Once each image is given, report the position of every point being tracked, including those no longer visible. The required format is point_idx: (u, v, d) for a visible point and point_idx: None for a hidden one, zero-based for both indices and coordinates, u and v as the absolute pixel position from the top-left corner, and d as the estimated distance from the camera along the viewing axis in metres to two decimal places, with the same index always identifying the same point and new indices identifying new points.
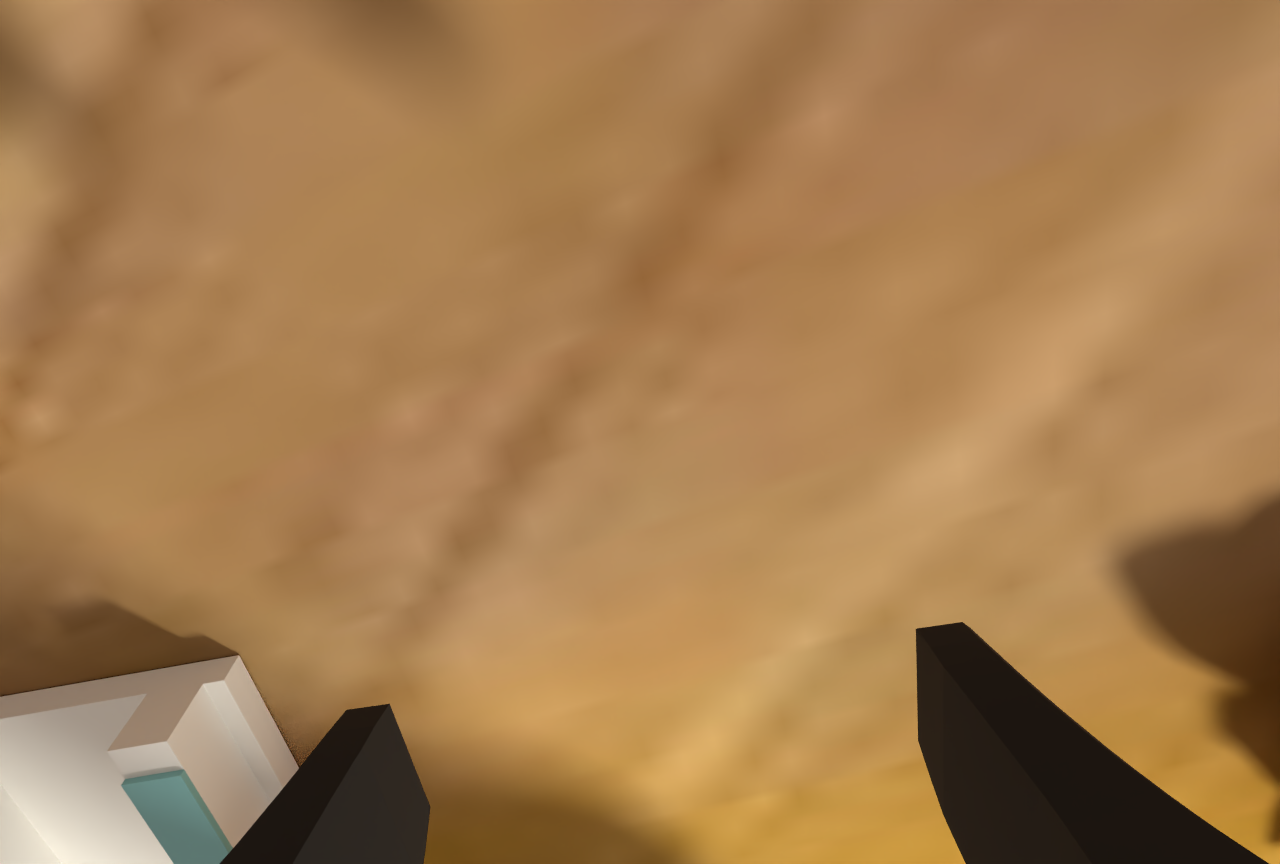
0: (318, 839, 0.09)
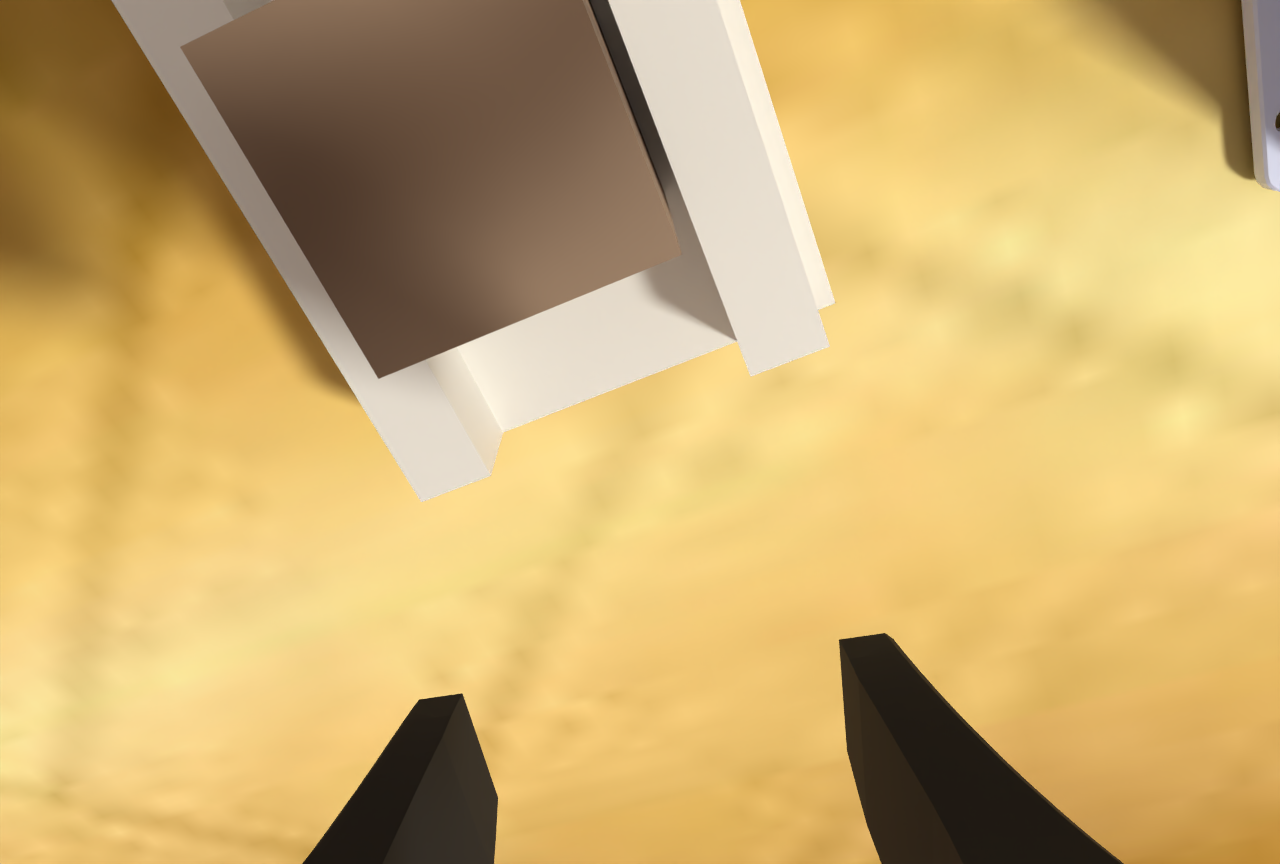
0: (408, 827, 0.09)
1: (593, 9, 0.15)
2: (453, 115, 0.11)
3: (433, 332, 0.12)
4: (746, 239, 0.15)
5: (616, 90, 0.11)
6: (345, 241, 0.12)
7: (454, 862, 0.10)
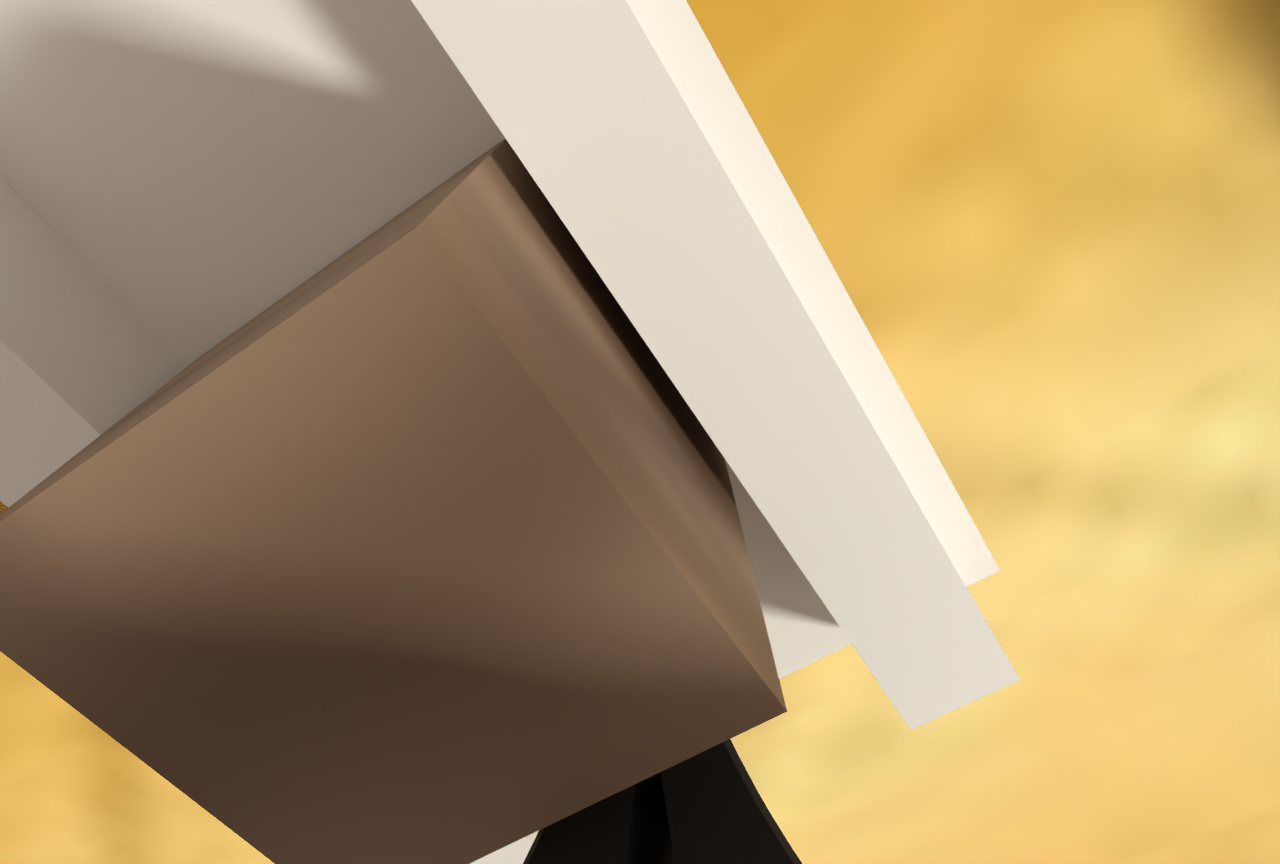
0: (637, 796, 0.09)
1: None
2: (372, 597, 0.07)
3: (416, 858, 0.08)
4: (882, 577, 0.10)
5: (635, 517, 0.06)
6: (251, 777, 0.07)
7: (658, 835, 0.10)
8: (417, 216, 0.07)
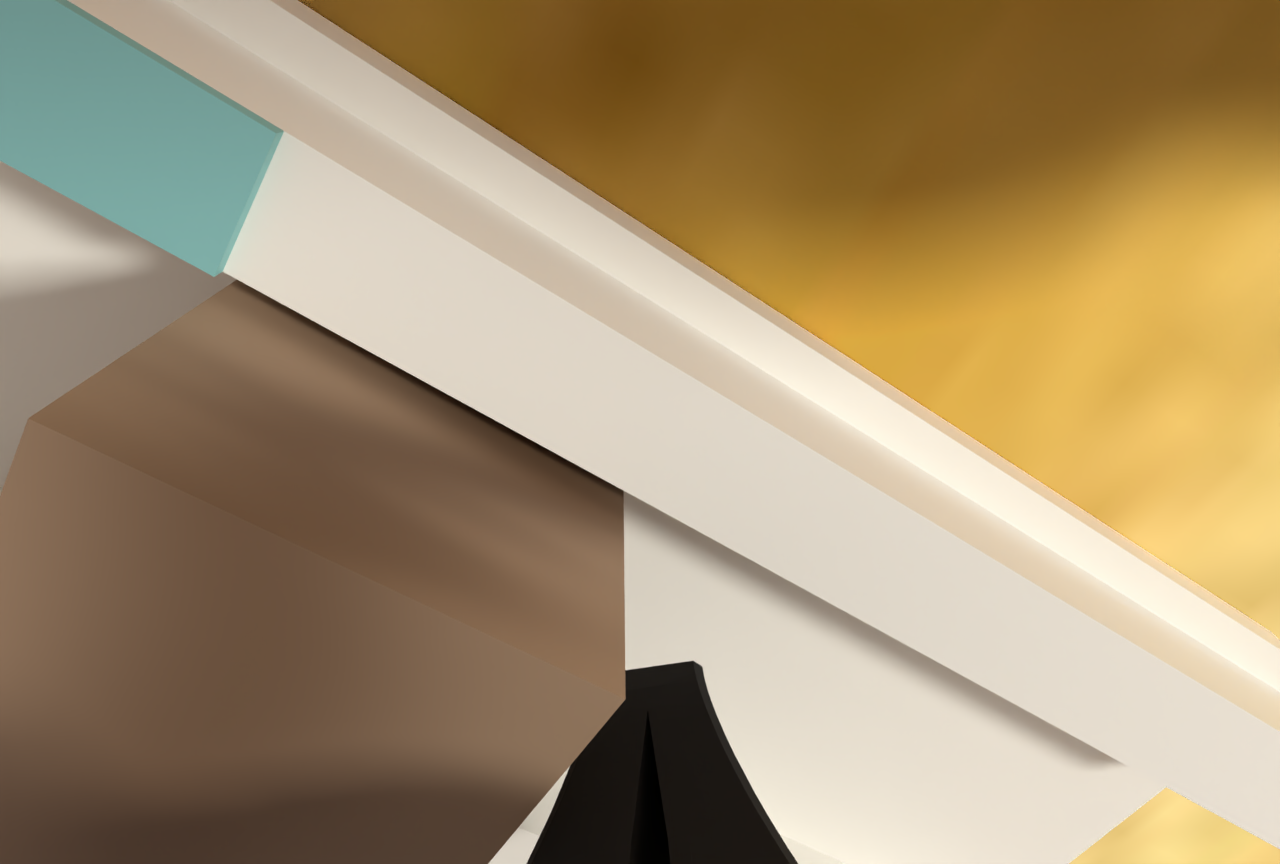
0: (640, 795, 0.09)
1: None
2: (204, 726, 0.07)
3: None
4: (1224, 761, 0.12)
5: (369, 579, 0.07)
6: None
7: (661, 834, 0.10)
8: None
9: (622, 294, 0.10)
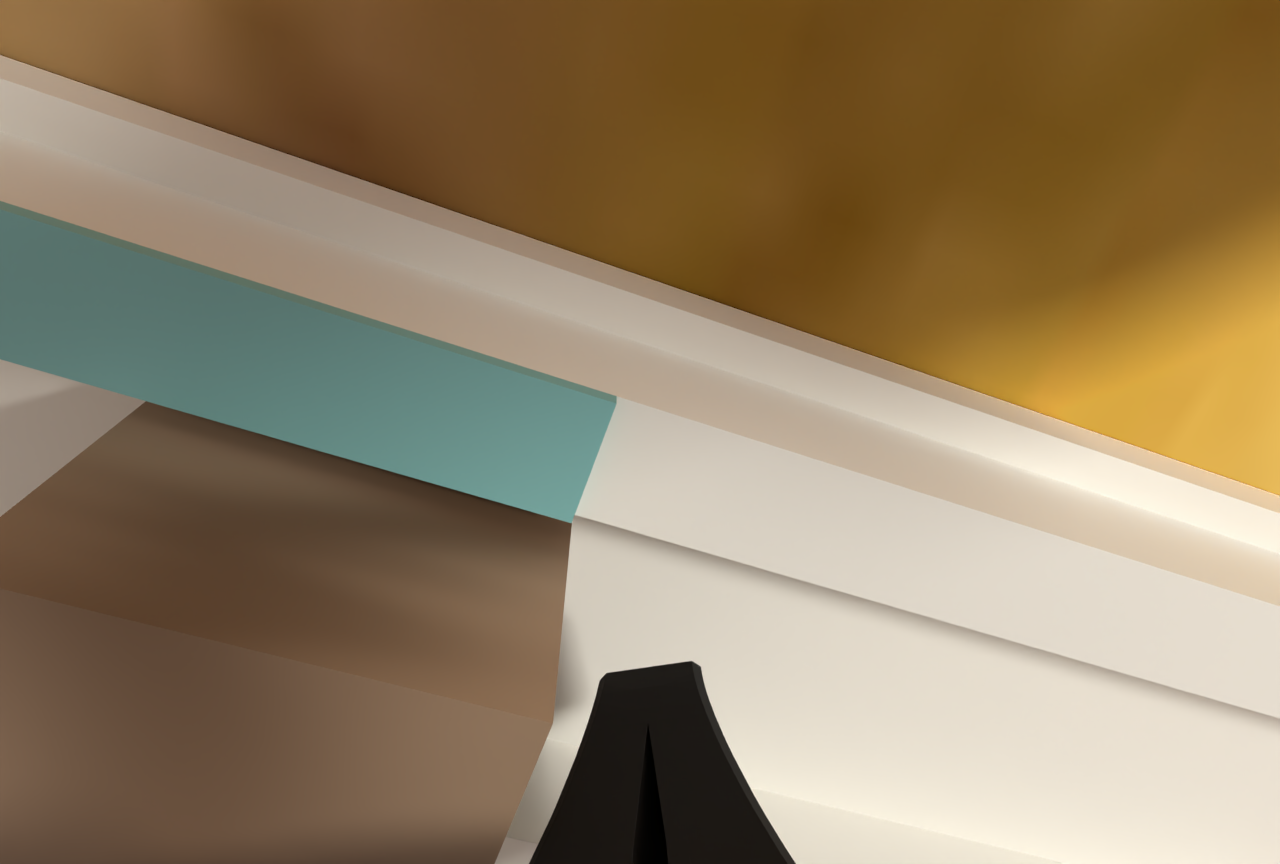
0: (643, 795, 0.09)
1: None
2: (178, 814, 0.08)
3: None
4: None
5: (275, 656, 0.07)
6: None
7: (663, 834, 0.10)
8: None
9: (885, 436, 0.11)
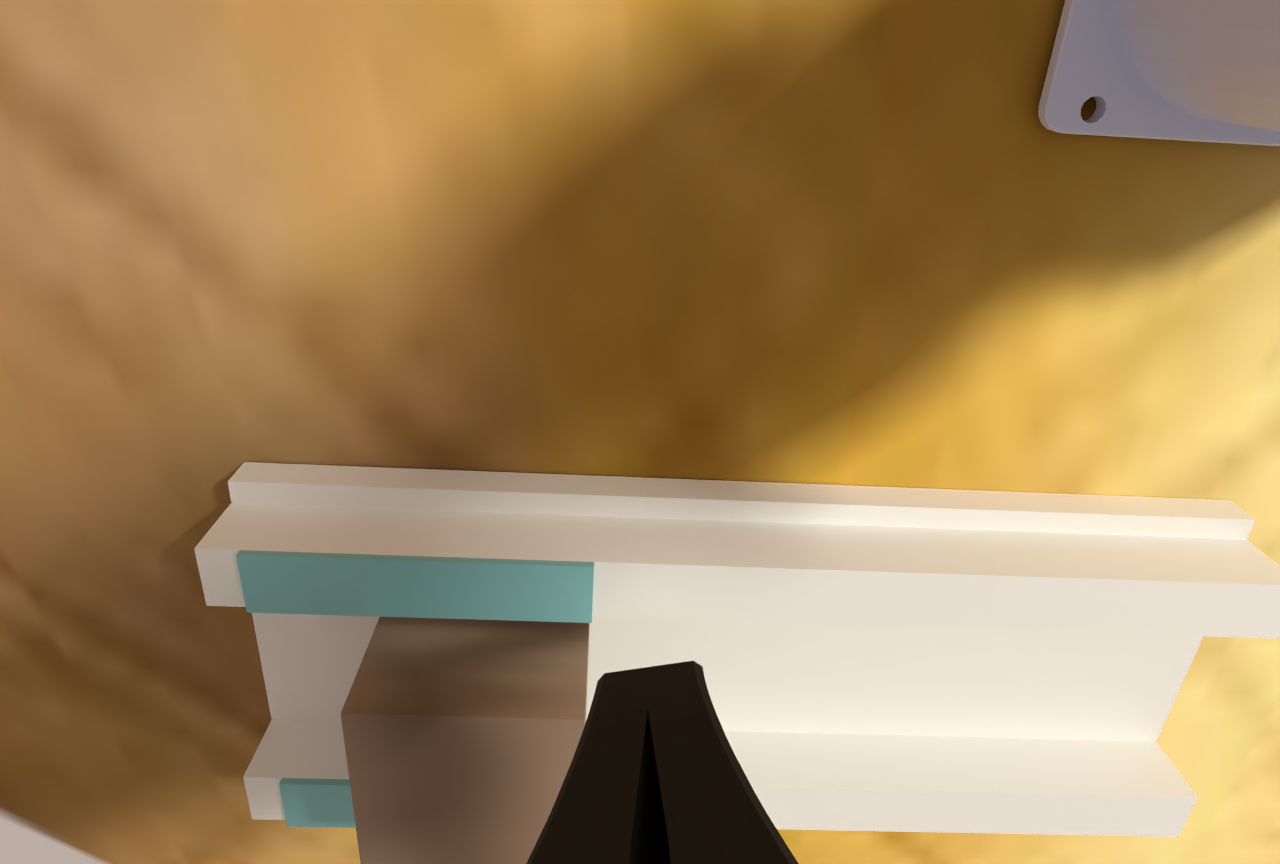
0: (640, 796, 0.09)
1: None
2: (447, 790, 0.18)
3: None
4: (1189, 609, 0.20)
5: (468, 717, 0.17)
6: (491, 858, 0.19)
7: (661, 835, 0.10)
8: None
9: (748, 532, 0.21)
